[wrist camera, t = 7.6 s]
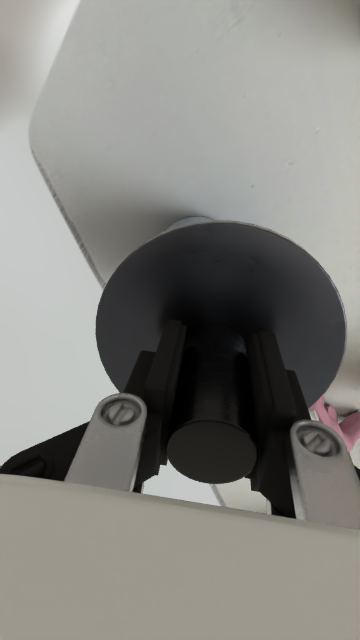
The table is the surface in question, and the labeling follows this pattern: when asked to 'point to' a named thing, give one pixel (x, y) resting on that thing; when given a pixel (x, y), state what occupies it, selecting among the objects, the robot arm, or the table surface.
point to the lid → (221, 331)
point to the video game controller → (347, 429)
